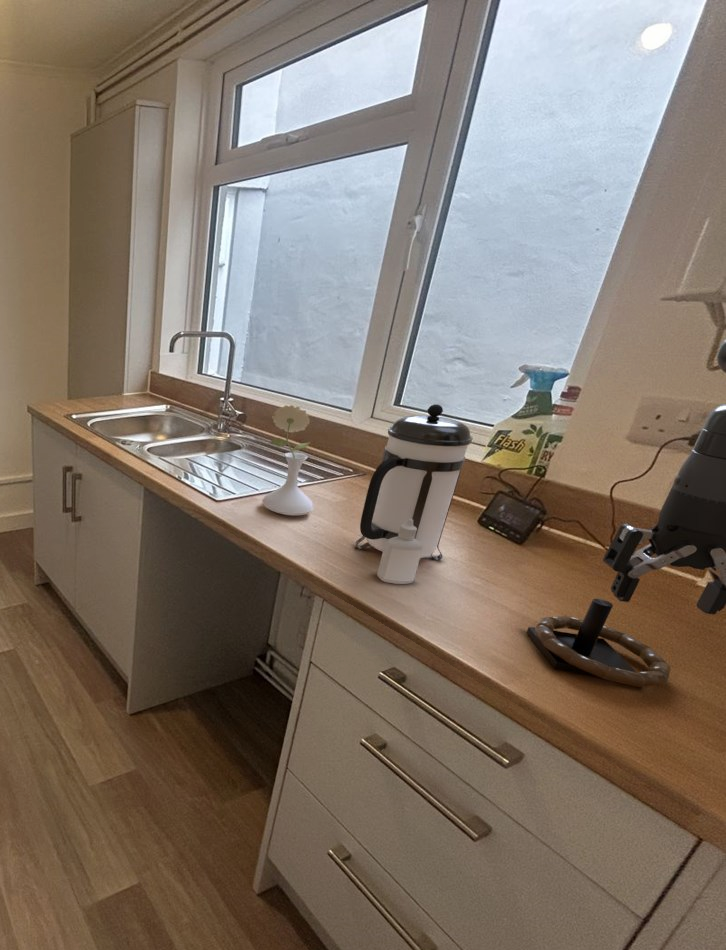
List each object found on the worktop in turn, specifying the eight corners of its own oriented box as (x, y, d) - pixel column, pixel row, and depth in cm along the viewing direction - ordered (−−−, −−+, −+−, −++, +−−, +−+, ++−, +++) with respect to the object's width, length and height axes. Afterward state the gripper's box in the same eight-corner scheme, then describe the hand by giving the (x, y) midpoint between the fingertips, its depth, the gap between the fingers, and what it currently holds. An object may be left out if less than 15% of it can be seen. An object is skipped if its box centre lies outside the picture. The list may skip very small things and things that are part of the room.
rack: (600, 645, 78) (625, 591, 74) (637, 684, 70) (668, 627, 67) (526, 632, 81) (546, 580, 77) (553, 669, 73) (578, 613, 70)
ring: (631, 638, 78) (637, 628, 77) (690, 701, 66) (698, 691, 66) (519, 614, 82) (524, 605, 82) (557, 670, 71) (563, 660, 70)
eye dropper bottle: (411, 589, 93) (429, 527, 88) (375, 580, 96) (390, 520, 91) (413, 579, 96) (430, 519, 92) (378, 570, 99) (393, 512, 95)
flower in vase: (321, 512, 125) (342, 407, 116) (296, 524, 119) (316, 415, 109) (271, 496, 135) (287, 399, 125) (245, 507, 129) (260, 405, 119)
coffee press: (347, 531, 115) (378, 394, 104) (434, 544, 109) (478, 400, 97) (350, 565, 101) (386, 411, 89) (450, 584, 94) (504, 419, 83)
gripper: (662, 494, 63) (608, 609, 69) (831, 509, 58) (758, 631, 64) (625, 475, 69) (579, 582, 75) (775, 487, 65) (713, 600, 71)
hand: (662, 604), depth 70 cm, fingers open, 8 cm apart
